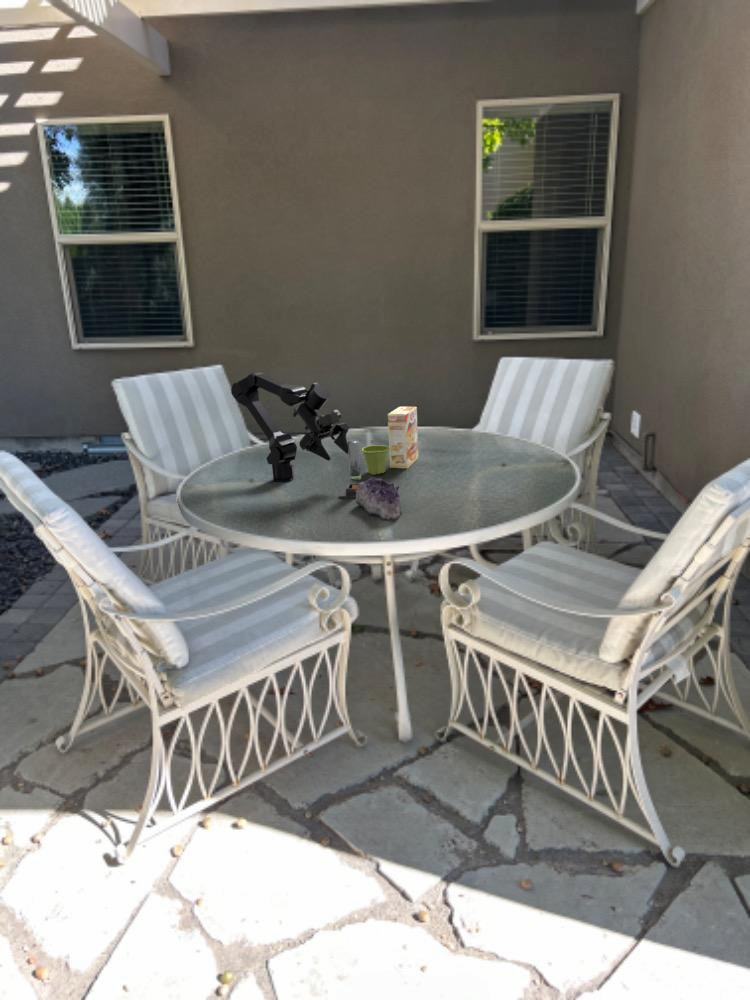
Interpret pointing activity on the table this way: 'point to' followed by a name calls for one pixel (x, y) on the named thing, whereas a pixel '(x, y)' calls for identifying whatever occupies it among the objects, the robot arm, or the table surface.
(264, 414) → the robot arm
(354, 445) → the column
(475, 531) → the table surface
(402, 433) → the coffeecake box
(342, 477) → the table surface
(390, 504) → the geode
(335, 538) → the table surface
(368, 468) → the plant pot
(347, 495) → the stand base
